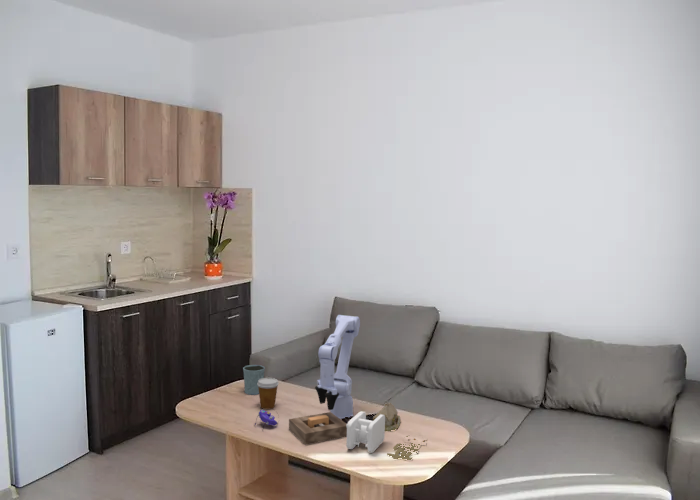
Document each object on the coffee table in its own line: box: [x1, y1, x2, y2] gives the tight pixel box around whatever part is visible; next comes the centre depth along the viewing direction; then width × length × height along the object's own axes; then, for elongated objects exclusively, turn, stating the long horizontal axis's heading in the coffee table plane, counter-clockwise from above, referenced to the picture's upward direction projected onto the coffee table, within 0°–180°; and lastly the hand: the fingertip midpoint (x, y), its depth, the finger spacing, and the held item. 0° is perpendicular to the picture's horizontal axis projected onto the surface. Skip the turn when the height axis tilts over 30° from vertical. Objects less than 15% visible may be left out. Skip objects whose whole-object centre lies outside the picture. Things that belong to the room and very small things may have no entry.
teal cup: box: [242, 364, 266, 396], centre depth 293 cm, size 10×10×12 cm
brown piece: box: [288, 411, 347, 446], centre depth 248 cm, size 19×16×4 cm
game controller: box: [254, 407, 280, 432], centre depth 254 cm, size 10×8×10 cm
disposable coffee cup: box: [257, 377, 279, 410], centre depth 275 cm, size 10×10×12 cm
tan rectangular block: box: [308, 415, 329, 428], centre depth 247 cm, size 8×3×5 cm, turn 119°
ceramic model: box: [372, 402, 401, 432], centre depth 257 cm, size 14×11×10 cm
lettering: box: [386, 435, 420, 460], centre depth 236 cm, size 25×10×1 cm, turn 153°
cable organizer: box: [345, 411, 386, 454], centre depth 236 cm, size 15×11×12 cm
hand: (326, 406), depth 252 cm, fingers open, 7 cm apart
